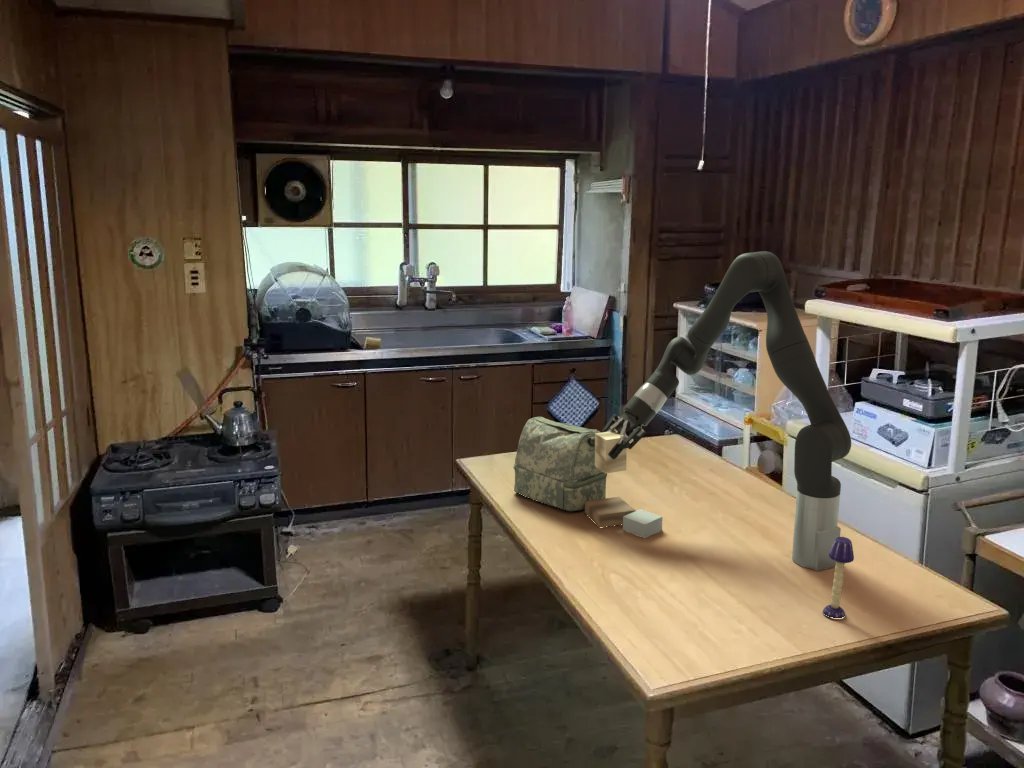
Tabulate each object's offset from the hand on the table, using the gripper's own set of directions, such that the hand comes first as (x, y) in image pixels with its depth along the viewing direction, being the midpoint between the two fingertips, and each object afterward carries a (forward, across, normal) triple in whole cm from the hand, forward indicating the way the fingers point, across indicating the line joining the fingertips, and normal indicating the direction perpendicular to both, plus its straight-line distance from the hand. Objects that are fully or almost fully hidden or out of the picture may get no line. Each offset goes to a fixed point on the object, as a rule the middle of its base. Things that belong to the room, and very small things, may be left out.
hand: (604, 453), depth 206 cm
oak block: (+2, 0, +4) cm, 5 cm away
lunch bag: (+16, -19, +11) cm, 27 cm away
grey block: (+9, +10, +17) cm, 22 cm away
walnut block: (+12, 0, +14) cm, 19 cm away
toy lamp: (-1, +62, +27) cm, 68 cm away
